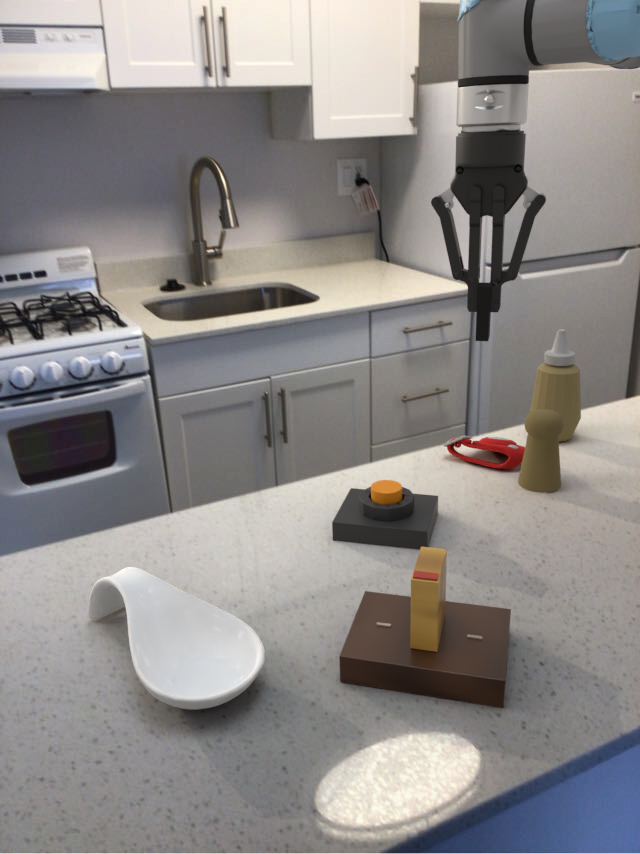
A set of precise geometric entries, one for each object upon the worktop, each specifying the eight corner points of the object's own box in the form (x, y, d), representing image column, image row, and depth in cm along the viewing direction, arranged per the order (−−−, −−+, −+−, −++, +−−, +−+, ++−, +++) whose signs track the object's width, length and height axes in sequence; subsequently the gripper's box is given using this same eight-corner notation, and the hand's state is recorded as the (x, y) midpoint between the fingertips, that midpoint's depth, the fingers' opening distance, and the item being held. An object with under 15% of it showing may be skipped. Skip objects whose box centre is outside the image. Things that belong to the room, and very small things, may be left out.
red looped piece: (506, 436, 123) (543, 443, 114) (502, 463, 123) (540, 472, 114) (440, 430, 119) (473, 437, 110) (437, 458, 119) (469, 467, 110)
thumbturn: (420, 611, 76) (421, 544, 73) (445, 614, 75) (446, 546, 73) (410, 648, 71) (410, 577, 68) (437, 652, 70) (438, 580, 67)
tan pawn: (509, 483, 109) (513, 412, 105) (533, 471, 113) (538, 401, 109) (545, 497, 105) (551, 423, 101) (569, 483, 109) (576, 411, 105)
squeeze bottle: (531, 425, 130) (538, 322, 124) (580, 430, 127) (590, 325, 121) (525, 442, 123) (532, 335, 117) (577, 447, 120) (587, 337, 114)
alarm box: (437, 513, 102) (438, 483, 100) (427, 551, 93) (427, 518, 91) (351, 505, 105) (350, 476, 103) (332, 540, 96) (331, 509, 94)
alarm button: (404, 493, 99) (404, 481, 98) (399, 507, 95) (399, 494, 94) (374, 490, 100) (374, 478, 99) (368, 504, 96) (367, 491, 95)
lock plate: (509, 633, 77) (511, 607, 76) (503, 708, 67) (505, 679, 66) (365, 614, 81) (365, 589, 80) (340, 682, 71) (338, 654, 70)
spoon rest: (291, 682, 71) (287, 618, 69) (190, 753, 64) (182, 684, 61) (150, 590, 87) (142, 535, 84) (55, 637, 79) (43, 578, 77)
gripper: (426, 132, 81) (424, 344, 90) (552, 126, 78) (538, 348, 86) (436, 131, 88) (433, 329, 97) (552, 126, 85) (538, 332, 93)
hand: (482, 338), depth 92 cm, fingers closed
